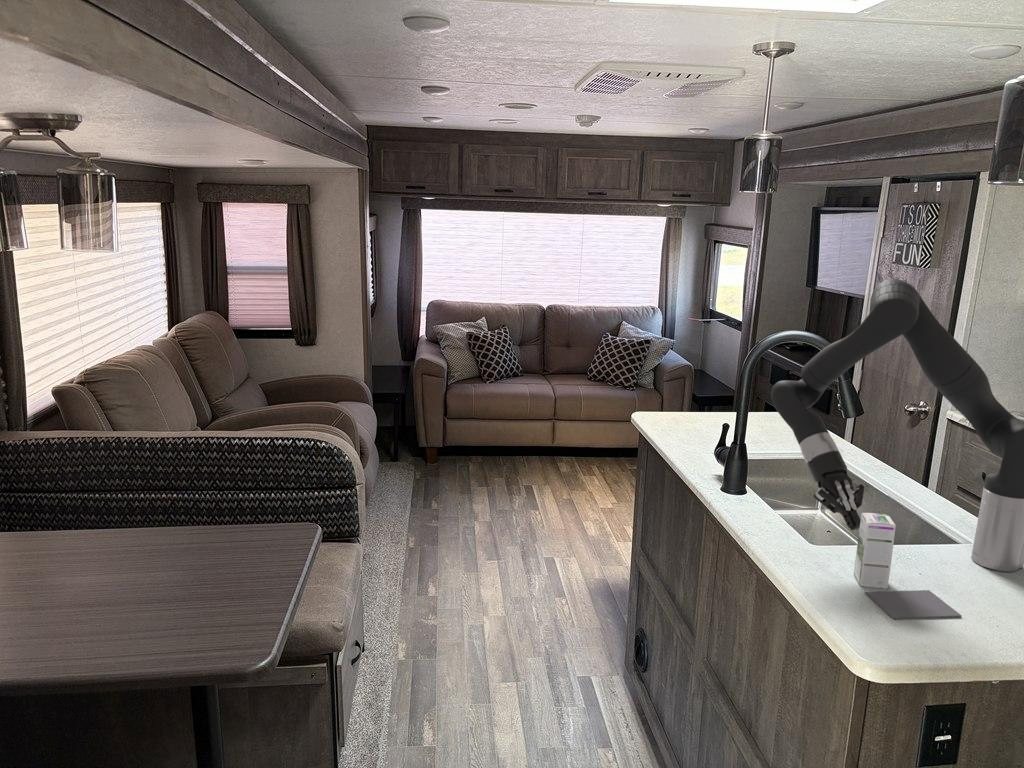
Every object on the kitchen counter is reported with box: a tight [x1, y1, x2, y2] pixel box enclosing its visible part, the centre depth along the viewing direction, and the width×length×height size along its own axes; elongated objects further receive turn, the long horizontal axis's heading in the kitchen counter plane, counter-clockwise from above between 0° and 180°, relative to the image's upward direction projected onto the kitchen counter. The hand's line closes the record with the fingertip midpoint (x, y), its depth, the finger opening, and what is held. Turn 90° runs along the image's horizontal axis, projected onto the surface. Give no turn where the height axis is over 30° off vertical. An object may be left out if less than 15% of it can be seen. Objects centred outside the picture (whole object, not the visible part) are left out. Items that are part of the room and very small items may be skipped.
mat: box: [864, 589, 962, 620], centre depth 152 cm, size 14×10×1 cm
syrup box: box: [853, 512, 897, 590], centre depth 160 cm, size 6×6×14 cm
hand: (856, 528), depth 164 cm, fingers closed
